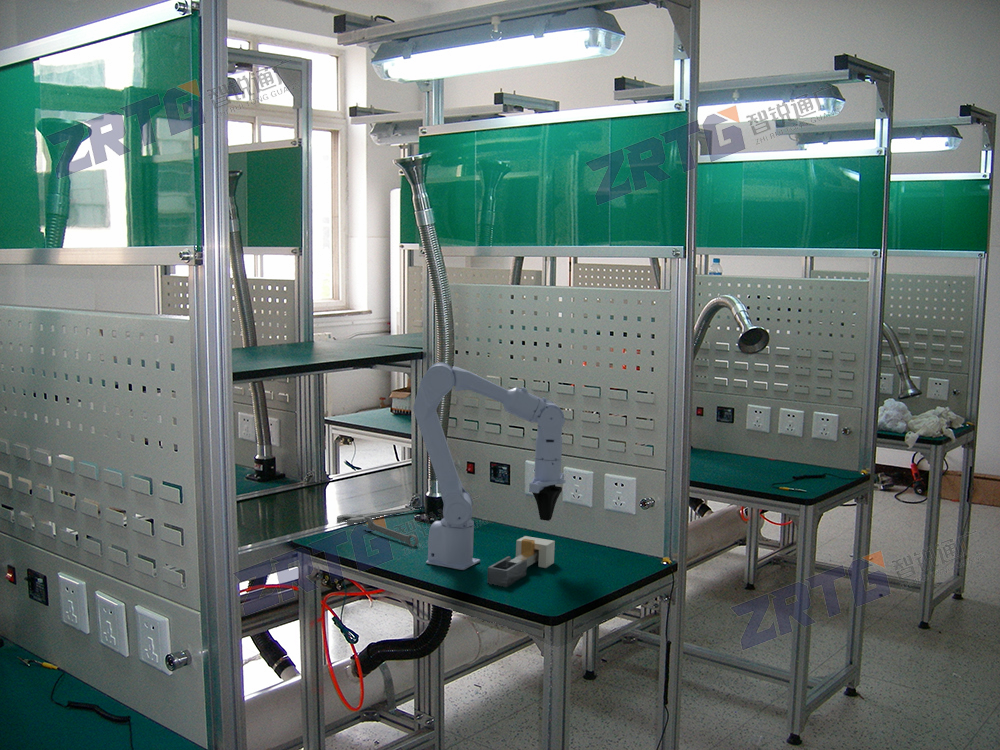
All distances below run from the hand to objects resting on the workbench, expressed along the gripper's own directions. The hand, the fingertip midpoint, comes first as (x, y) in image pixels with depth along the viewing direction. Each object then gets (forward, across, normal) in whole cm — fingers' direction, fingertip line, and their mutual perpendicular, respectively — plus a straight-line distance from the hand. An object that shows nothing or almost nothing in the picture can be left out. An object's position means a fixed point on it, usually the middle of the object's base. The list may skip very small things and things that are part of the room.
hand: (545, 519), depth 200 cm
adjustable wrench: (+11, +16, +53) cm, 56 cm away
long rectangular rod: (+9, -4, +3) cm, 11 cm away
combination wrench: (+11, 0, +41) cm, 42 cm away
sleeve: (+10, -12, +3) cm, 16 cm away
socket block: (+10, +1, +3) cm, 11 cm away
